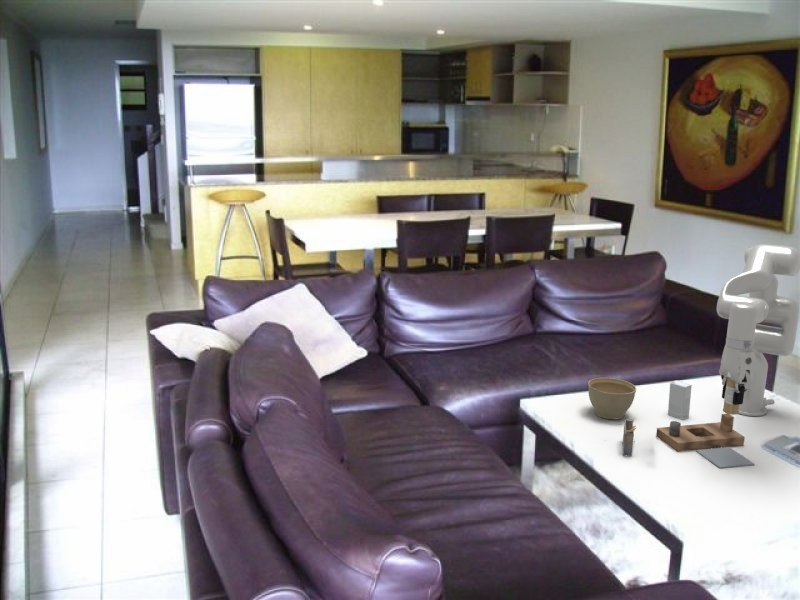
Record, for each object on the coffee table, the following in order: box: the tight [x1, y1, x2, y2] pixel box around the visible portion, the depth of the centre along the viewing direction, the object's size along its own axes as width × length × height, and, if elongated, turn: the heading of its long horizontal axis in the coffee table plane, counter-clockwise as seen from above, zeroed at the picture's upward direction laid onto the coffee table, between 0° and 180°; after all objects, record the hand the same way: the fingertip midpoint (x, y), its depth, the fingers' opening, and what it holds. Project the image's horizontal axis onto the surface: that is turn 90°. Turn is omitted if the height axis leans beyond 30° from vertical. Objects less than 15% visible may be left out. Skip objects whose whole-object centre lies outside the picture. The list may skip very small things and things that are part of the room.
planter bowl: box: [587, 377, 637, 420], centre depth 274 cm, size 16×16×11 cm
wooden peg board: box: [656, 413, 746, 453], centre depth 255 cm, size 24×12×8 cm, turn 104°
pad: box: [695, 447, 755, 470], centre depth 243 cm, size 12×12×1 cm
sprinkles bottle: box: [722, 372, 742, 416], centre depth 238 cm, size 5×5×13 cm
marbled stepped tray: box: [622, 419, 637, 457], centre depth 248 cm, size 11×3×10 cm, turn 165°
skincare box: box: [667, 380, 692, 420], centre depth 274 cm, size 6×4×12 cm
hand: (732, 400), depth 239 cm, fingers closed on sprinkles bottle, 4 cm apart
